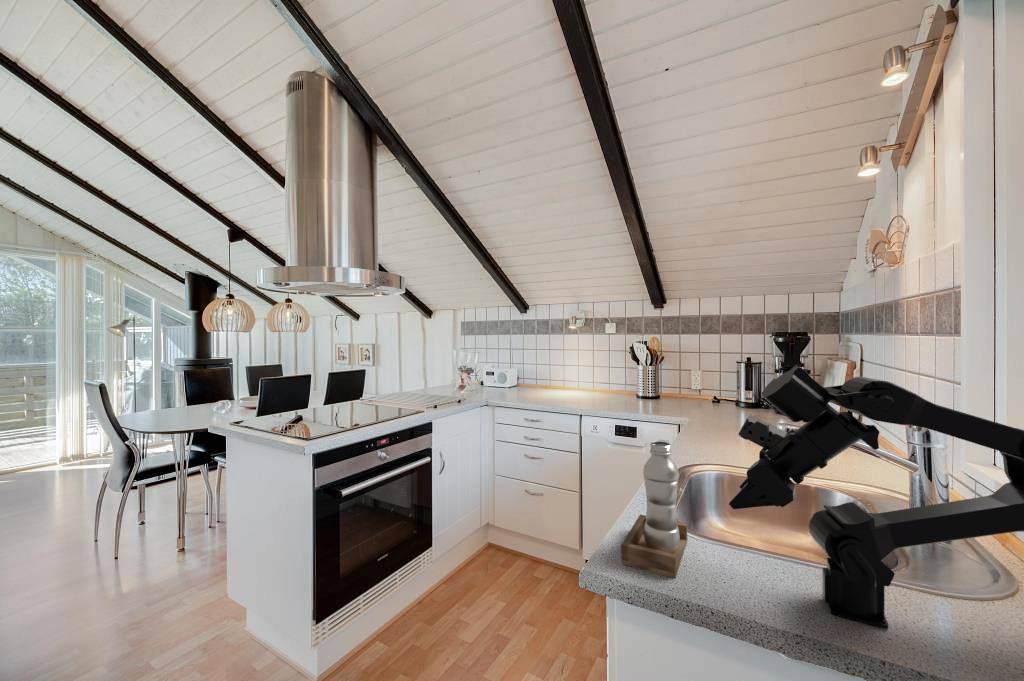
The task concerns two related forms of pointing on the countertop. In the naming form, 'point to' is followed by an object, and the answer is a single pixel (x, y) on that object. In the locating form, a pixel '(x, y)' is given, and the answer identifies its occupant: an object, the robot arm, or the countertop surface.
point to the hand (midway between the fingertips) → (736, 497)
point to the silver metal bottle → (661, 499)
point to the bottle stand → (651, 551)
